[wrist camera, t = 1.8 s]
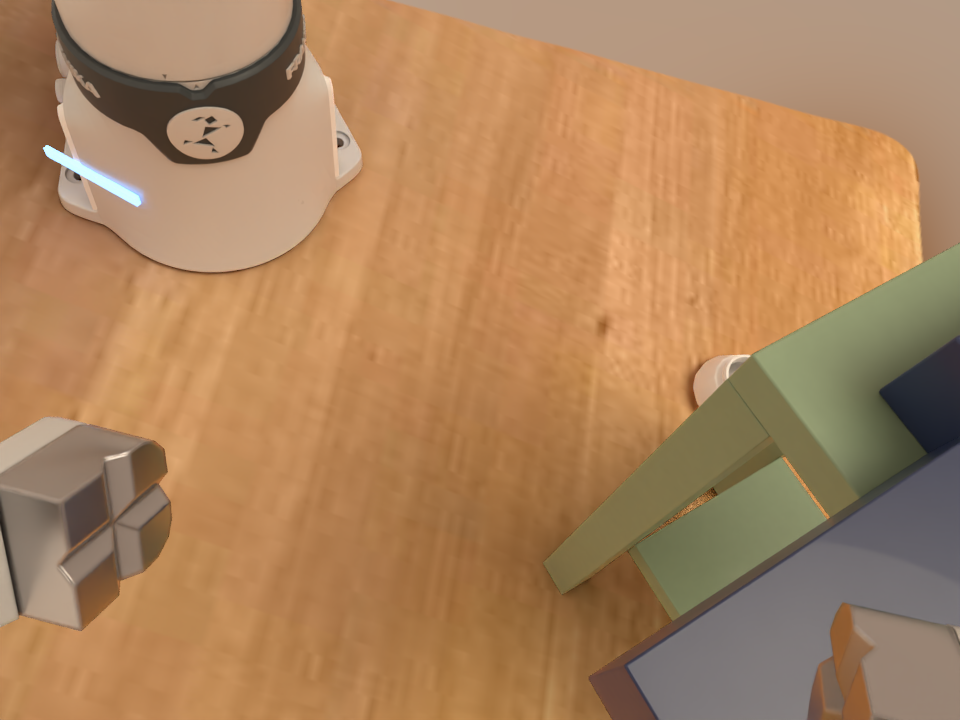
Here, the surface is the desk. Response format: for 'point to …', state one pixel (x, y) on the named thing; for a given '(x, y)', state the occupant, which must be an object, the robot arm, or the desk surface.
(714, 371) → the lidless jar
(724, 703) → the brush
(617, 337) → the desk surface
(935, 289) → the stand
